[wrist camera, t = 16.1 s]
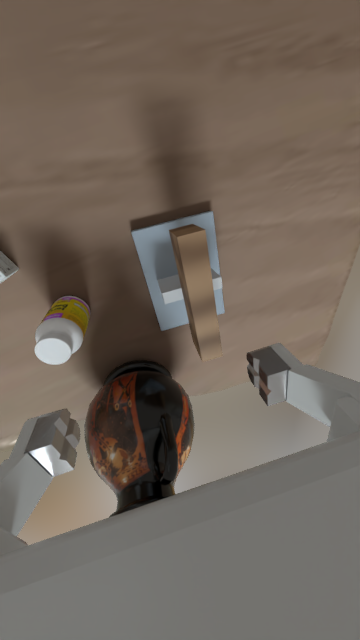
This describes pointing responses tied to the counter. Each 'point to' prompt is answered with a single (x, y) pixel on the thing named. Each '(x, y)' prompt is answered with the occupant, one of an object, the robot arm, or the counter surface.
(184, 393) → the amphora vase
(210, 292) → the wooden block
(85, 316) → the supplement bottle
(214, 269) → the balance stand
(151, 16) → the counter surface
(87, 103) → the counter surface
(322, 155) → the counter surface
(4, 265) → the small box
